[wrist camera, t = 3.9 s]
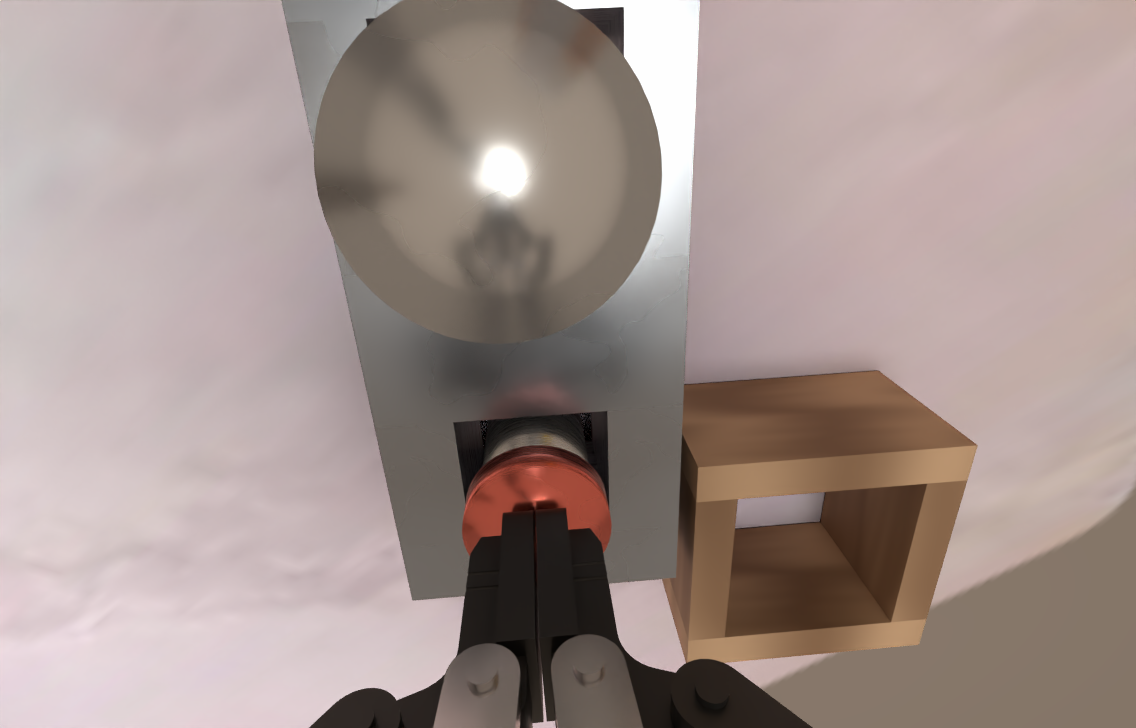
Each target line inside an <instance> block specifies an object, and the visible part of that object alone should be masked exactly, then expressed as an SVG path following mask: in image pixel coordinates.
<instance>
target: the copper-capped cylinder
mask: <svg viewBox="0 0 1136 728" xmlns="http://www.w3.org/2000/svg"><path fill="white" fill-rule="evenodd" d="M553 508H566V512H567V522H568V530H571V529H583V528H590V529H591V530H592V531H593V532H594V534H595V535H596V536H597V538H598V539H599V540H600V541H601V543H602V548H603V553H604V551H605V550H606V548H607V545H608V543H609V540H610V536H611V527H612V524H611V516H610V511H609V506H608V501H607V496H606V491H605V488H604V484H603V482H602V480H601V478H600V476H599V475H598V473H597V472H596V470H595V469H594V468H593V467H592V466H591V465H590V464H589V462H588V456H587V450H586V444H585V439H584V433H583V427H582V421H581V416H580V413H574V414H560V415H547V416H533V417H520V418H506V419H493V420H488V424H487V432H486V441H485V449H484V457H483V465H482V468H481V469H480V470H479V471H478V472H477V474H476V475H475V477H474V478H473V480H472V482H471V484H470V486H469V489H468V492H467V497H466V503H465V510H464V516H463V523H462V538H463V542H464V545H465V548H466V550H467V552H468V554H469V556H470V553H471V552H472V550H473V549H474V547H475V546H476V544H477V543H478V541H479V540H480V538H481V537H488V536H500V535H501V531H502V515H503V513H505V512H518V511H530V510H533V511H534V521H535V532H536V510H541V509H553ZM536 543H537V537H536Z"/></svg>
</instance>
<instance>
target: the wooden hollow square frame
mask: <svg viewBox="0 0 1136 728" xmlns="http://www.w3.org/2000/svg"><path fill="white" fill-rule="evenodd" d="M977 446H978V445H976V444H975V443H974V442H972V441H971V440H970V439H968V438H967V437H966V436H965V435H963V434H962V433H961V432H959V431H958V430H957V429H955V428H954V427H953V426H951V425H950V424H949V423H947V422H946V421H945V420H943V419H942V418H941V417H939V416H938V415H937V414H935V413H934V412H933V411H931V410H930V409H929V408H927V407H926V406H925V405H923V404H922V403H921V402H919V401H918V400H917V399H915V398H914V397H913V396H911V395H910V394H909V393H907V392H906V391H905V390H903V389H902V388H901V387H899V386H898V385H897V384H895V383H894V382H893V381H891V380H890V379H889V378H887V377H886V376H885V375H883V374H882V373H881V372H879V371H868V372H854V373H840V374H827V375H813V376H799V377H785V378H772V379H758V380H744V381H731V382H717V383H703V384H690V385H684V396H683V421H682V445H681V469H680V493H679V517H678V542H677V566H676V578H666V579H662V580H663V584H664V587H665V591H666V594H667V598H668V601H669V605H670V608H671V612H672V615H673V619H674V622H675V626H676V629H677V633H678V636H679V640H680V643H681V647H682V650H683V654H684V657H685V661H686V663H688V662H690V661H693V660H697V659H712V660H717V661H720V662H723V663H726V662H737V661H748V660H758V659H769V658H780V657H791V656H801V655H812V654H823V653H834V652H844V651H855V650H866V649H877V648H887V647H898V646H908V645H918V644H919V642H920V639H921V635H922V632H923V629H924V625H925V622H926V619H927V615H928V612H929V608H930V605H931V602H932V598H933V595H934V591H935V588H936V585H937V581H938V578H939V574H940V571H941V568H942V564H943V561H944V558H945V554H946V551H947V547H948V544H949V541H950V537H951V534H952V530H953V527H954V524H955V520H956V517H957V514H958V510H959V507H960V503H961V500H962V497H963V493H964V490H965V486H966V483H967V480H968V476H969V473H970V470H971V466H972V463H973V459H974V456H975V453H976V449H977ZM818 492H826V493H825V499H824V504H823V510H822V516H821V522H817V523H805V524H793V525H781V526H769V527H757V528H745V529H735V522H736V512H737V501H738V499H744V498H756V497H769V496H781V495H793V494H806V493H818Z"/></svg>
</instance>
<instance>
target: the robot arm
mask: <svg viewBox="0 0 1136 728" xmlns="http://www.w3.org/2000/svg"><path fill="white" fill-rule="evenodd" d="M536 537H537V543H536ZM542 674H543V685H544V695H545V706H546V717H547V721H555V724H556V728H812V727H811V726H810V725H808V724H807V723H806V722H804V721H803V720H802V719H800V718H799V717H797V716H796V715H795V714H793V713H792V712H791V711H790V710H788V709H787V708H786V707H784V706H783V705H782V704H780V703H779V702H778V701H776V700H775V699H774V698H772V697H771V696H770V695H768V694H767V693H766V692H764V691H763V690H762V689H760V688H759V687H758V686H756V685H755V684H754V683H752V682H751V681H750V680H748V679H747V678H746V677H744V676H743V675H742V674H740V673H739V672H738V671H736V670H735V669H734V668H732V667H730V666H729V665H727V664H725V663H723V662H720V661H717V660H712V659H697V660H693V661H690V662H688V663H686V664H684V665H683V666H682V667H680V668H679V669H678V671H677V672H676V673H674V672H669V671H665V670H660V669H655V668H652V667H648V666H646V665H644V664H641V663H640V662H638V661H637V660H635V659H634V658H632V657H631V656H630V655H629V654H628V653H627V652H626V651H625V649H624V648H623V646H622V645H621V643H620V641H619V638H618V634H617V629H616V623H615V617H614V611H613V606H612V600H611V594H610V588H609V583H608V578H607V571H606V565H605V560H604V554H603V548H602V543H601V541H600V540H599V539H598V538H597V536H596V535H595V534H594V532H593V531H592V530H591V529H590V528H583V529H571V530H568V522H567V512H566V508H553V509H541V510H536V532H535V521H534V511H533V510H530V511H518V512H505V513H503V515H502V531H501V535H500V536H488V537H481V538H480V540H479V541H478V543H477V544H476V546H475V547H474V549H473V550H472V552H471V553H470V559H469V567H468V576H467V583H466V592H465V599H464V607H463V616H462V624H461V632H460V640H459V648H458V653H457V656H456V658H455V659H454V660H453V661H452V662H451V664H450V665H449V667H448V669H447V671H446V674H445V675H444V676H443V677H442V678H441V679H439V680H438V681H437V682H436V683H434V684H433V685H431V686H430V687H428V688H426V689H424V690H421V691H419V692H417V693H414V694H412V695H409V696H407V697H404V698H402V699H399V700H397V701H396V699H395V697H394V696H393V695H391V694H390V693H389V692H387V691H385V690H382V689H377V688H366V689H361V690H358V691H355V692H352V693H350V694H348V695H346V696H345V697H343V698H342V699H340V700H339V701H338V702H336V703H335V704H334V705H333V706H332V707H331V708H330V709H329V710H328V711H326V712H325V713H324V714H323V715H322V716H321V717H320V718H319V719H318V720H317V721H316V722H315V723H314V724H313V725H312V726H310V727H309V728H532V723H538V722H543V688H542Z"/></svg>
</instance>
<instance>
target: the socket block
mask: <svg viewBox="0 0 1136 728" xmlns="http://www.w3.org/2000/svg"><path fill="white" fill-rule="evenodd" d="M281 1H282V5H283V10H284V14H285V19H286V23H287V28H288V33H289V37H290V42H291V46H292V51H293V56H294V60H295V65H296V69H297V74H298V78H299V83H300V88H301V92H302V97H303V101H304V106H305V110H306V115H307V120H308V124H309V129H310V133H311V138H312V143H313V147H314V141H315V131H316V122H317V118H318V114H319V110H320V105H321V101H322V98H323V95H324V92H325V90H326V87H327V85H328V82H329V80H330V77H331V75H332V73H333V71H334V70H335V68H336V66H337V64H338V63H339V61H340V59H341V58H342V56H343V54H344V53H345V51H346V50H347V49H348V47H349V46H350V45H351V44H352V42H353V41H354V40H355V39H356V37H357V36H358V35H359V34H360V33H361V32H362V31H363V30H364V29H365V28H366V27H367V26H368V25H369V24H370V23H371V22H373V21H374V20H375V19H376V18H377V17H378V16H379V15H381V14H382V13H384V12H385V11H387V10H388V9H390V8H391V7H393V6H394V5H396V4H397V3H399V2H400V1H403V0H281ZM558 1H560V2H562V3H564V4H565V5H567V6H569V7H571V8H573V9H574V10H575V11H577V12H578V13H580V14H581V15H582V16H584V17H585V18H587V19H588V20H589V21H591V22H592V23H593V24H594V25H595V26H596V27H597V28H599V29H600V30H601V31H602V32H603V33H604V34H605V35H606V36H607V37H608V38H609V39H610V40H611V41H612V42H613V43H614V45H615V46H616V47H617V48H618V50H619V51H620V52H621V53H622V55H623V56H624V57H625V58H626V60H627V61H628V63H629V64H630V66H631V68H632V69H633V71H634V72H635V74H636V76H637V77H638V79H639V81H640V82H641V85H642V87H643V89H644V91H645V94H646V96H647V98H648V101H649V103H650V105H651V108H652V112H653V115H654V118H655V122H656V125H657V129H658V135H659V141H660V147H661V155H662V185H661V198H660V203H659V208H658V212H657V217H656V221H655V224H654V227H653V230H652V233H651V236H650V239H649V241H648V244H647V246H646V248H645V250H644V252H643V254H642V256H641V258H640V260H639V262H638V263H637V265H636V266H635V268H634V269H633V271H632V272H631V274H630V275H629V277H628V278H627V280H626V281H625V282H624V283H623V284H622V285H621V287H620V288H619V289H618V290H617V291H616V293H615V294H614V295H613V296H611V297H610V298H609V299H608V300H607V301H606V302H605V303H604V304H603V305H602V306H601V307H600V308H598V309H597V310H595V311H594V312H593V313H591V314H590V315H588V316H587V317H586V318H584V319H583V320H581V321H579V322H577V323H575V324H574V325H572V326H570V327H568V328H566V329H564V330H561V331H559V332H556V333H554V334H551V335H549V336H545V337H541V338H538V339H534V340H530V341H524V342H516V343H509V344H486V343H477V342H468V341H464V340H459V339H455V338H451V337H447V336H444V335H441V334H439V333H436V332H433V331H430V330H428V329H426V328H424V327H422V326H420V325H418V324H416V323H414V322H412V321H410V320H408V319H407V318H405V317H404V316H402V315H401V314H399V313H398V312H396V311H395V310H393V309H392V308H390V307H389V306H388V305H387V304H386V303H384V302H383V301H382V300H381V299H380V298H378V297H377V296H376V295H375V294H374V293H373V292H372V291H371V290H370V289H369V288H368V287H367V286H366V285H365V284H364V283H363V281H362V280H361V279H360V278H359V277H358V276H357V274H356V273H355V272H354V270H353V269H352V268H351V266H350V265H349V264H348V262H347V261H346V260H345V258H344V256H343V254H342V253H341V251H340V249H339V247H338V246H337V244H336V242H335V240H334V243H335V248H336V252H337V257H338V262H339V266H340V271H341V275H342V280H343V284H344V289H345V294H346V298H347V303H348V307H349V312H350V317H351V321H352V326H353V330H354V335H355V339H356V344H357V349H358V353H359V358H360V362H361V367H362V371H363V376H364V381H365V385H366V390H367V394H368V399H369V404H370V408H371V413H372V417H373V422H374V426H375V431H376V436H377V440H378V445H379V449H380V454H381V458H382V463H383V468H384V472H385V477H386V481H387V486H388V491H389V495H390V500H391V504H392V509H393V513H394V518H395V523H396V527H397V532H398V536H399V541H400V545H401V550H402V555H403V559H404V564H405V568H406V573H407V578H408V582H409V587H410V591H411V596H412V600H424V599H435V598H447V597H459V596H465V592H466V583H467V576H468V567H469V559H470V556H469V554H468V552H467V550H466V548H465V545H464V542H463V538H462V523H463V516H464V510H465V503H466V497H467V492H468V489H469V486H470V484H471V482H472V480H473V478H474V477H475V475H476V474H477V472H478V471H479V470H480V469H481V468H482V465H483V457H484V449H485V448H483V440H482V433H481V425H480V420H493V419H506V418H520V417H533V416H547V415H560V414H574V413H587V412H591V427H592V440H585V444H586V450H587V456H588V462H589V464H590V465H591V466H592V467H593V468H594V469H595V470H596V472H597V473H598V475H599V476H600V478H601V480H602V482H603V484H604V488H605V491H606V496H607V501H608V506H609V511H610V516H611V524H612V527H611V536H610V540H609V543H608V545H607V548H606V550H605V551H604V553H603V554H604V560H605V565H606V571H607V578H608V583H620V582H631V581H643V580H655V579H666V578H676V566H677V542H678V517H679V493H680V469H681V445H682V421H683V396H684V372H685V348H686V324H687V300H688V275H689V251H690V227H691V203H692V179H693V154H694V130H695V106H696V82H697V58H698V33H699V9H700V0H558ZM333 239H334V238H333Z"/></svg>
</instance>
